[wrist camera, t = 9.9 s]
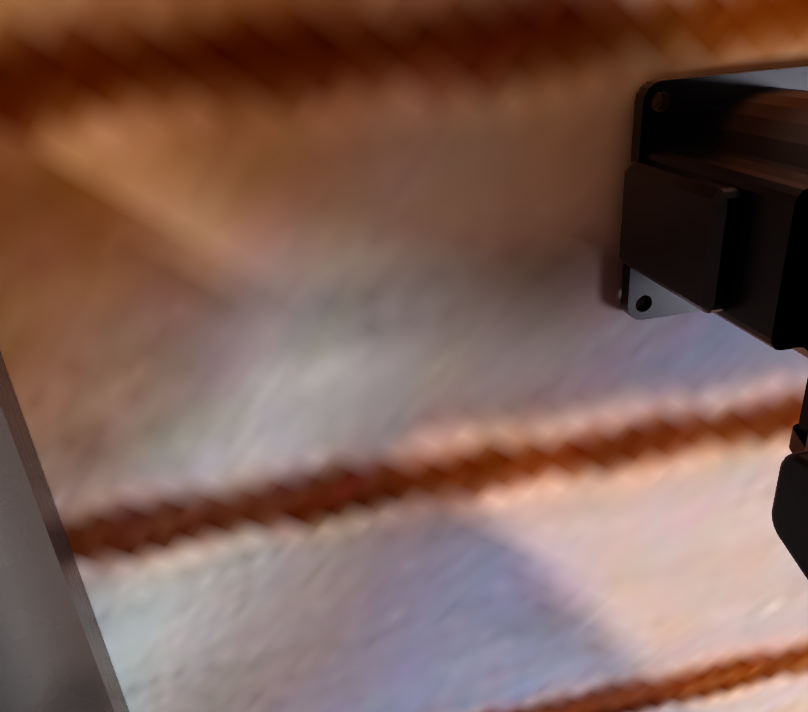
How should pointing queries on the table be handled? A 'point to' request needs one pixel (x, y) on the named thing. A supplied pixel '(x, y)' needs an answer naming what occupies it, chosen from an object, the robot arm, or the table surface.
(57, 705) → the roll stand
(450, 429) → the table surface
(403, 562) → the table surface
